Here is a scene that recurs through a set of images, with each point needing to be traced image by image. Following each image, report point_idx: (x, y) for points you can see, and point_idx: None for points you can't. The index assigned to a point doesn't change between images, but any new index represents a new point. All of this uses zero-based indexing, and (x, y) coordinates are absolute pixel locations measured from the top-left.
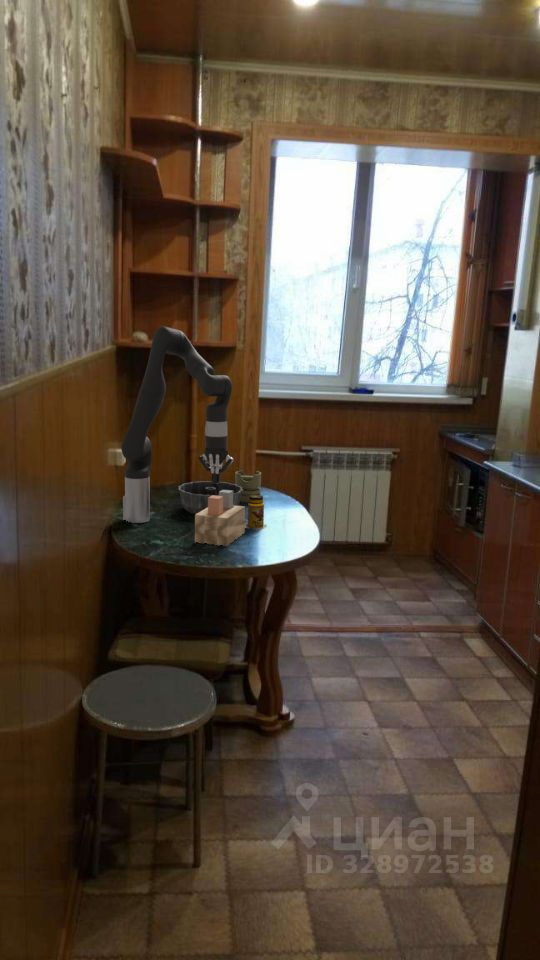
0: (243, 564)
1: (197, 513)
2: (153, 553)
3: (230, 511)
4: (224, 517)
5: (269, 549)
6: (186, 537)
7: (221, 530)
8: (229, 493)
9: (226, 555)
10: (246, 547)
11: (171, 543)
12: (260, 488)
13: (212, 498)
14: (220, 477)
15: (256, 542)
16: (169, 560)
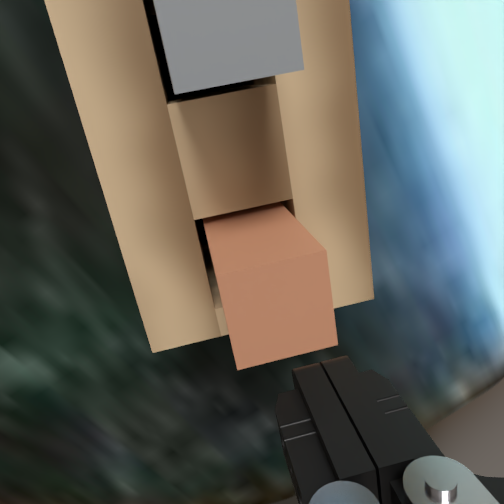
0: (464, 374)
1: (146, 321)
2: (120, 474)
3: (311, 135)
4: (350, 294)
5: (498, 167)
6: (65, 235)
7: None
8: (301, 63)
9: (371, 335)
10: (399, 201)
11: (80, 349)
12: None
13: (279, 359)
14: (412, 420)
15: (411, 102)
16: (224, 487)
